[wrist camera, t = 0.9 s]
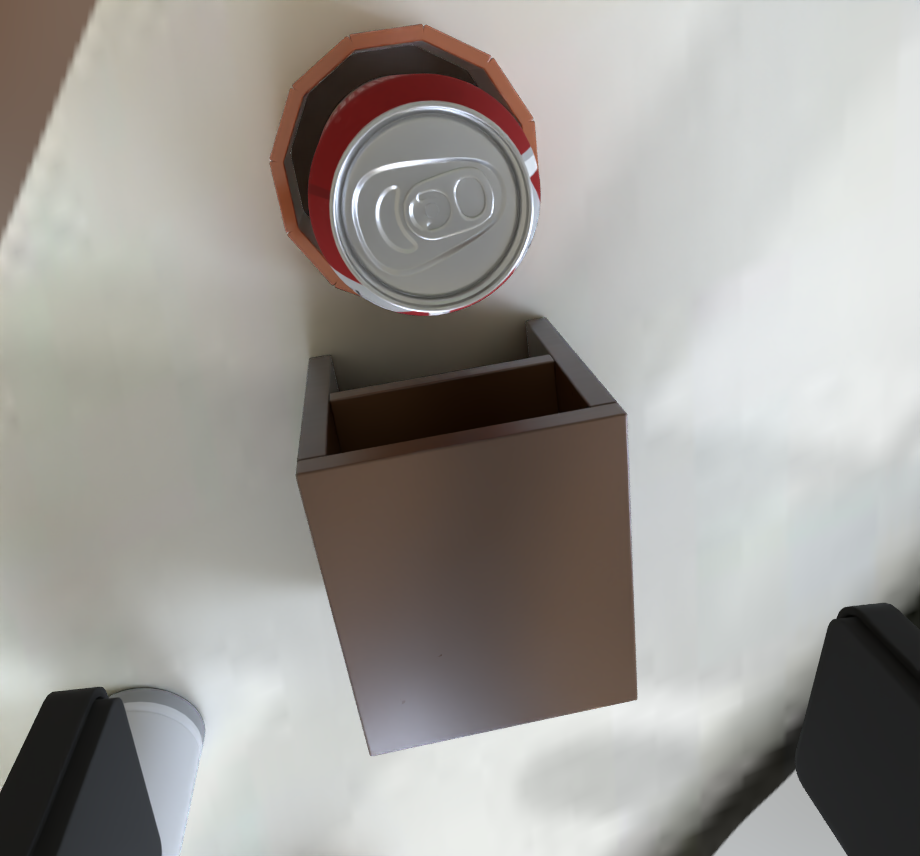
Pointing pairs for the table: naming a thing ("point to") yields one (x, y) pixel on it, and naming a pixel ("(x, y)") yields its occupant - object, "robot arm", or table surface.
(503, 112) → the soda can
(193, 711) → the travel mug
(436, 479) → the desk shelf
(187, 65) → the table surface
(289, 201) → the can holder
